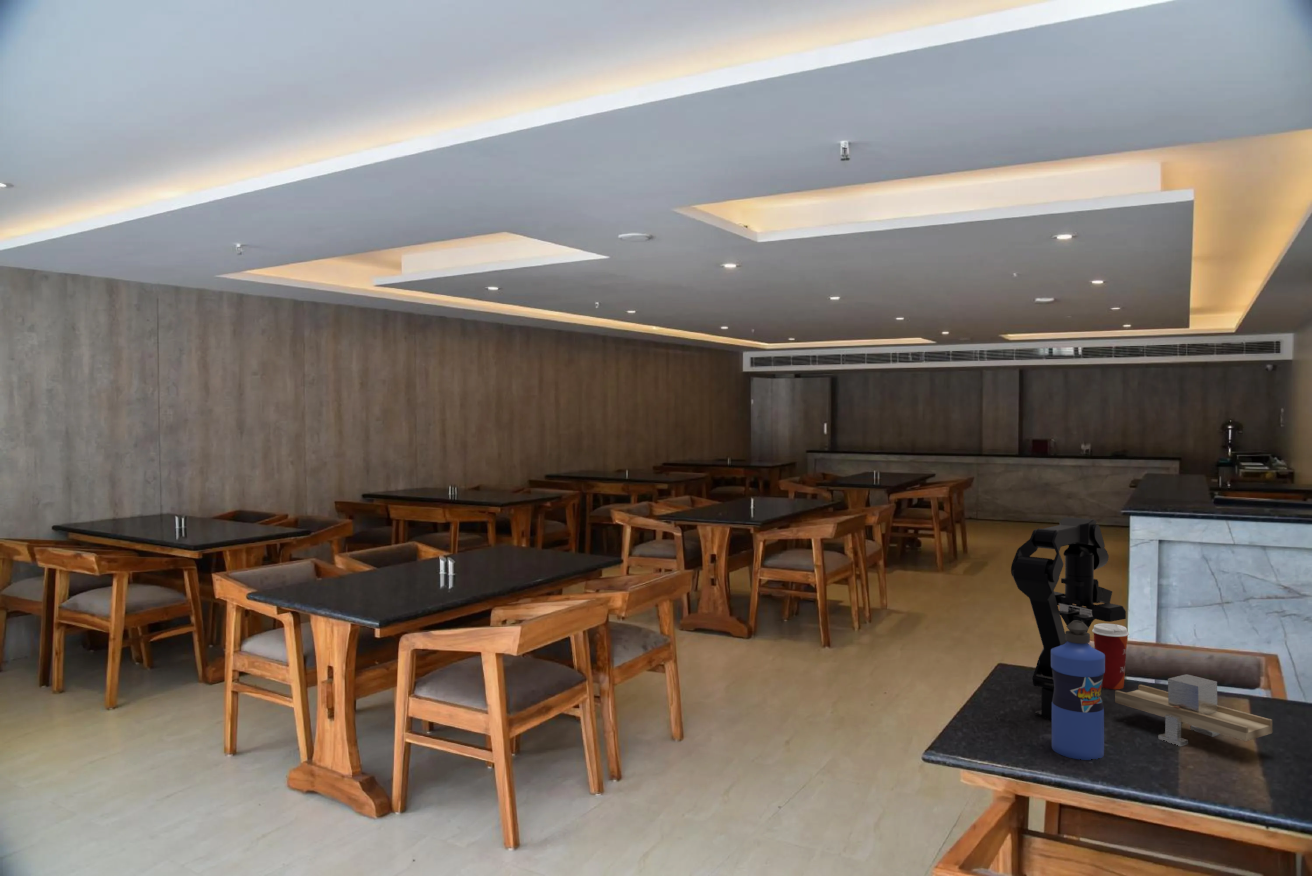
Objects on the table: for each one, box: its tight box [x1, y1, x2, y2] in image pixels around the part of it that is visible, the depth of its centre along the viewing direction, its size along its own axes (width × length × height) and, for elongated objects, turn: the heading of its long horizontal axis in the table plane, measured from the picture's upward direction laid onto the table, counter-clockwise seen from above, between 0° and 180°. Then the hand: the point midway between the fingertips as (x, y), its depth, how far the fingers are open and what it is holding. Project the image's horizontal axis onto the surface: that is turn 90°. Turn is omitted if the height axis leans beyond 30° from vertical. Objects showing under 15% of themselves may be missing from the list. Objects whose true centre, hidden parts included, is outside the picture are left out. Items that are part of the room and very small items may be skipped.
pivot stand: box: [1157, 714, 1221, 747], centre depth 172 cm, size 13×4×5 cm, turn 117°
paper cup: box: [1091, 622, 1130, 690], centre depth 204 cm, size 8×8×14 cm
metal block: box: [1167, 674, 1218, 715], centre depth 171 cm, size 6×6×6 cm
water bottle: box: [1051, 620, 1105, 761], centre depth 166 cm, size 9×9×25 cm
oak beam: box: [1114, 684, 1273, 742], centre depth 172 cm, size 8×26×4 cm, turn 27°
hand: (1079, 644), depth 193 cm, fingers closed
